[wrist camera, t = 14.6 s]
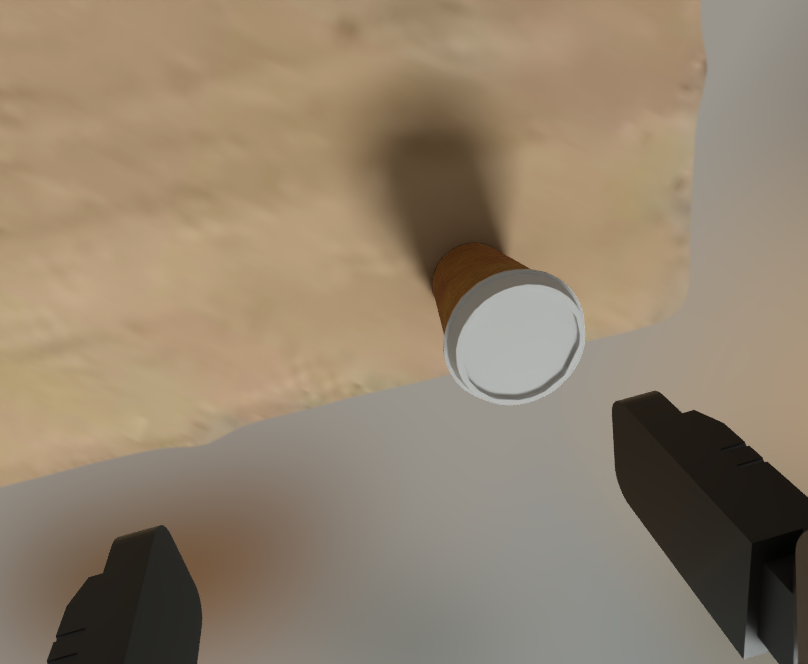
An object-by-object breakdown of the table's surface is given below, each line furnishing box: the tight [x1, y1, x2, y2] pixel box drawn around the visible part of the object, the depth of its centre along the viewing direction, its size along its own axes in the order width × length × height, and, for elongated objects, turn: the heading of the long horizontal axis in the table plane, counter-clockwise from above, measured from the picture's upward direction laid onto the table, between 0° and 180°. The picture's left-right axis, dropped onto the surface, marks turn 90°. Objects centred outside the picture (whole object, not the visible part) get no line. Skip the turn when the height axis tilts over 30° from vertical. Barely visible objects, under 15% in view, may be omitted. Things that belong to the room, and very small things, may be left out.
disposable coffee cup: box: [432, 243, 585, 405], centre depth 46 cm, size 10×10×12 cm
